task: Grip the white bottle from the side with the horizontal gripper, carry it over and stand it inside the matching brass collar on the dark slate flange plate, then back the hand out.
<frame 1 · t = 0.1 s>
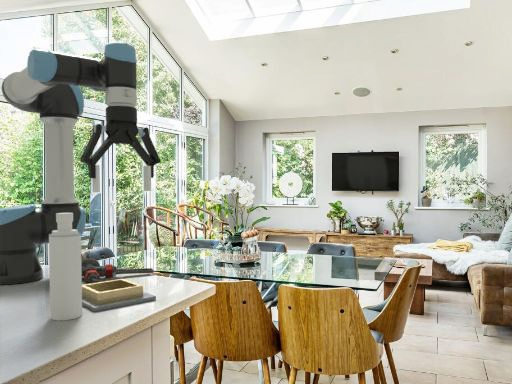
hand: (122, 191, 115), 28 cm above the kitchen island, tool pointing down, fingers open, 13 cm apart
white bottle: (66, 317, 104), on the kitchen island
flange plate: (111, 298, 119), on the kitchen island
power drill: (113, 280, 144), on the kitchen island
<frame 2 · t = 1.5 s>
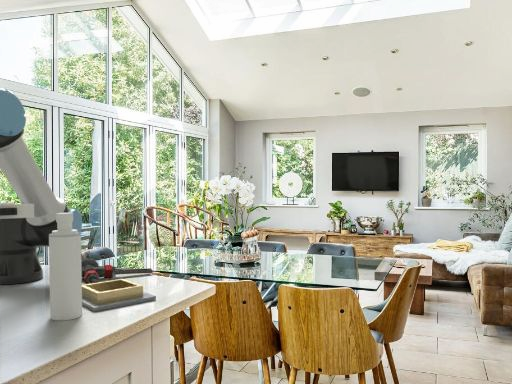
hand: (23, 209, 98), 25 cm above the kitchen island, tool horizontal, fingers open, 13 cm apart
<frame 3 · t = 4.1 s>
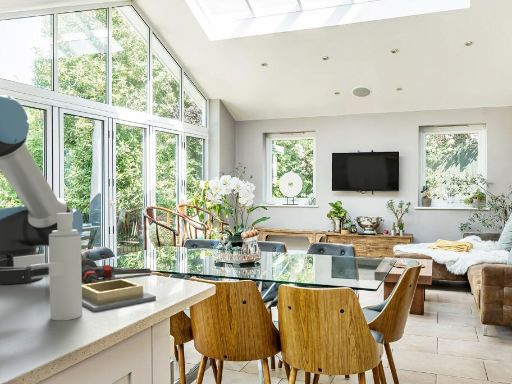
hand: (53, 263, 101), 12 cm above the kitchen island, tool horizontal, fingers open, 13 cm apart
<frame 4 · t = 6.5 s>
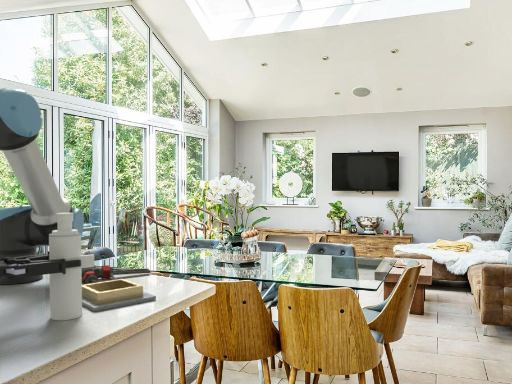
hand: (87, 258, 107), 13 cm above the kitchen island, tool horizontal, fingers closed on white bottle, 6 cm apart
white bottle: (66, 317, 104), on the kitchen island, touching gripper
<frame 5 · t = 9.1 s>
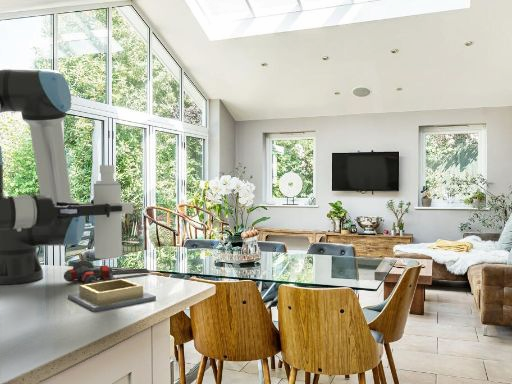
hand: (126, 207, 121), 24 cm above the kitchen island, tool horizontal, fingers closed on white bottle, 6 cm apart
white bottle: (108, 257, 118), point 11 cm above the kitchen island, touching gripper
when the fingers open (15 cm above the kitchen island, at t = 12.1 s): white bottle drops 1 cm, resting on flange plate.
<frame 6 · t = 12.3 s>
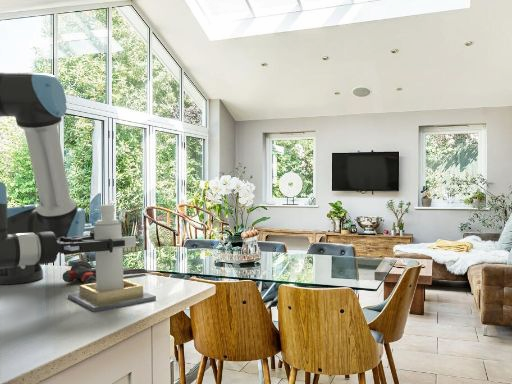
hand: (126, 239, 122), 15 cm above the kitchen island, tool horizontal, fingers open, 9 cm apart
white bottle: (110, 295, 119), point 1 cm above the kitchen island, touching flange plate
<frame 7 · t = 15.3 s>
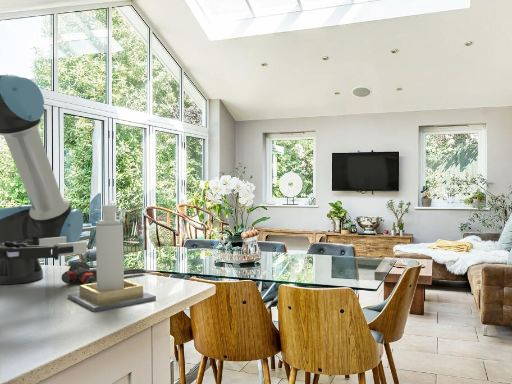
hand: (75, 244, 113), 15 cm above the kitchen island, tool horizontal, fingers open, 13 cm apart
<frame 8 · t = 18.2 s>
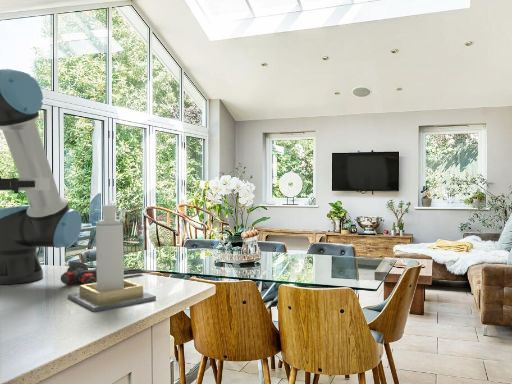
hand: (40, 184, 107), 30 cm above the kitchen island, tool horizontal, fingers open, 13 cm apart
at the end: white bottle 0.2 cm off-centre on the flange plate, point 0.8 cm above the flange plate's base; white bottle tilted 0°; the gripper is holding nothing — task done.
